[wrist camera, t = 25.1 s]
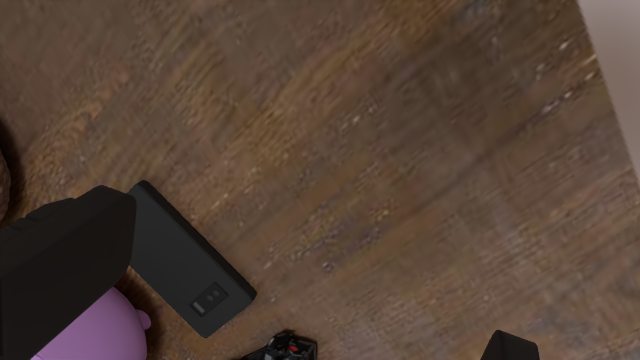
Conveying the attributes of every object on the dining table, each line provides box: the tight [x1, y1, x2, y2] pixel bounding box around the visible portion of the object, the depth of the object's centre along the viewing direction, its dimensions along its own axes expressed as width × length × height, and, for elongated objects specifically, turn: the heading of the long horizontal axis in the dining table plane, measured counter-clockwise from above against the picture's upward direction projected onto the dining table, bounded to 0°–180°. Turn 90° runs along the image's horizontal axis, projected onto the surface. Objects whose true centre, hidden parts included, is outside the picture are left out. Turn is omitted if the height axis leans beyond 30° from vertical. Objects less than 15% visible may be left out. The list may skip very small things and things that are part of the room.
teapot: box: [30, 287, 151, 360], centre depth 51 cm, size 20×14×12 cm
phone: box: [127, 181, 256, 338], centre depth 50 cm, size 8×1×15 cm
